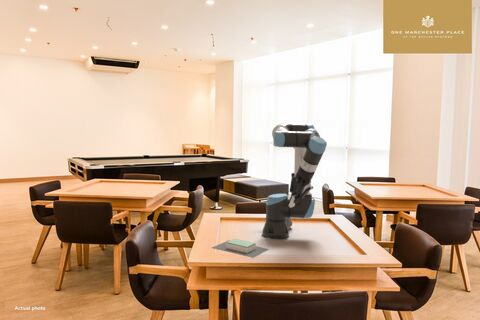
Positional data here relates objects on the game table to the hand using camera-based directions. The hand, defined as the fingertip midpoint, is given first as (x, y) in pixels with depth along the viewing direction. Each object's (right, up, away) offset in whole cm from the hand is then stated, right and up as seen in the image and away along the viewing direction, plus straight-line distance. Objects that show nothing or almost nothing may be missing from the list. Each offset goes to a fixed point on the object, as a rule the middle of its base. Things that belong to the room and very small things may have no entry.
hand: (291, 206), depth 185 cm
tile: (-20, -20, -5) cm, 28 cm away
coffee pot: (-4, -19, +44) cm, 48 cm away
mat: (-25, -21, -1) cm, 33 cm away
